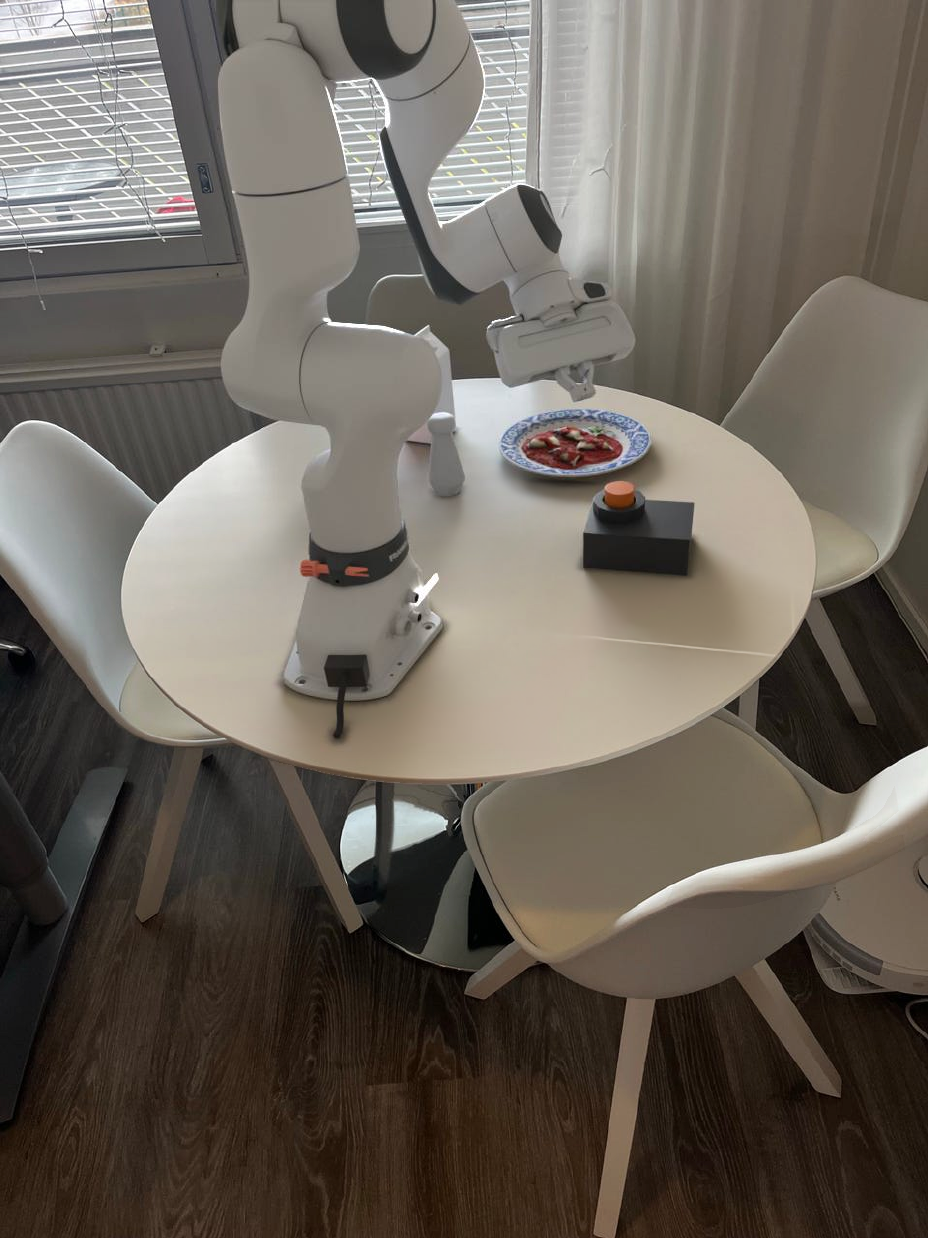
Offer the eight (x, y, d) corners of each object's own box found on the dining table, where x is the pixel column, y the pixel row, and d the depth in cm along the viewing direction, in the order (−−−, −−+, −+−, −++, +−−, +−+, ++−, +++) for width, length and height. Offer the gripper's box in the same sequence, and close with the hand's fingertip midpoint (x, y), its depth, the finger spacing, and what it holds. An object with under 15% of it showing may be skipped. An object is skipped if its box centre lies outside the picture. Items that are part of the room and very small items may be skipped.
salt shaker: (467, 481, 144) (461, 407, 136) (464, 498, 139) (457, 422, 131) (432, 482, 144) (424, 408, 137) (428, 499, 140) (419, 423, 132)
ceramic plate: (553, 503, 136) (553, 486, 134) (472, 446, 154) (470, 430, 152) (683, 456, 145) (684, 440, 143) (591, 408, 163) (591, 392, 161)
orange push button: (635, 495, 121) (636, 481, 120) (632, 509, 118) (632, 495, 117) (606, 493, 122) (606, 480, 121) (602, 507, 119) (602, 493, 118)
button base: (691, 537, 125) (695, 490, 120) (687, 576, 117) (691, 528, 112) (593, 530, 128) (593, 485, 124) (583, 568, 121) (583, 521, 116)
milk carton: (404, 441, 158) (391, 337, 147) (422, 425, 163) (411, 323, 152) (439, 446, 155) (428, 340, 144) (456, 429, 160) (447, 326, 149)
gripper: (487, 311, 115) (525, 406, 114) (619, 281, 121) (656, 370, 120) (475, 336, 121) (511, 426, 120) (601, 306, 127) (636, 391, 126)
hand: (585, 398), depth 120 cm, fingers closed
